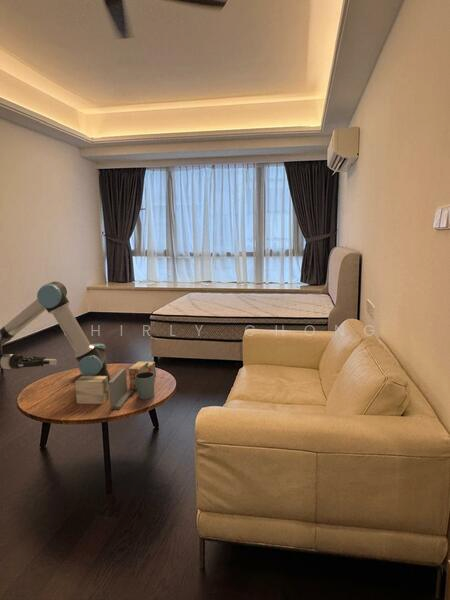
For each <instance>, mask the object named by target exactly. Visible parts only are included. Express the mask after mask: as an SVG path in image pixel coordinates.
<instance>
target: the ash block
mask: <svg viewBox="0 0 450 600" xmlns="http://www.w3.org/2000/svg"><path fill="white" fill-rule="evenodd" d="M74 384H75V395H76V396H75V397H76V404H86V405H88V404H93V405H94V404H95V405H96V404H97V405H103V404H105V403H106V402H107V400H108V399H110V396H109V383H108V376H85V375H81V376H79V378H77V379H76V380H75V381H74Z"/></svg>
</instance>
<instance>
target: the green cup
mask: <svg viewBox="0 0 450 600" xmlns="http://www.w3.org/2000/svg"><path fill="white" fill-rule="evenodd" d="M155 377H156V376H155V374H154V373H153V372H141V373H138V374H136V375H135V380H136V385H137V389H136V390H137V396H138V398H139V399H140V400H149V399H152V398H154V397H155Z"/></svg>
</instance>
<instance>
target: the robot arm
mask: <svg viewBox="0 0 450 600" xmlns="http://www.w3.org/2000/svg"><path fill="white" fill-rule="evenodd" d="M67 293H68V291H67V288H66V285H64V284H63V283H62V282H60V281H51V282H48V283H45V284H44V285H42V286H41V287H40V288H39V289H38V290H37V295H36V299H35V300H34V301H33V302H31V303H30V304H29V305H28V306H27V307H25V309H23V310H22V311H21V312H19V314H17V315H16V316H15V317H14V318H12V319H11V320H10V321H9V322H7V323H6V324H5V325H4V326H3V327H1V328H0V369H2V370H3V369H4V370H5V369H7V370H10V369H13V370H14V369H15V370H19V369H22V368H33V367H42V368H43V367H44V366H57V365H58V359H57V358H46V356H43V357H42V356H36V355H31V357H28V356H25V357H24V356H23V355H22V354H19V353H16V354H15V353H14V354H13V353H12V354H11V353H8V354H7V353H3V345H5V344H6V343H8V342H10V341H11V340H12V338H14V337H15V336H16V335H17V334H19V333H20V332H21V331H22V330H23V329H25V328H26V327H27V326H28V325H30V324H31V323H32V322H33V321H34V320H36V319H37V318H38V317H39V316H41V315H42V313H44V312H45V311H46V312H47V313H48V314H52V315H53V317H54V319H55V320H56V322H57V324H58V325H59V326H60V329H61V330H62V331H63V333H64V336H65V337H66V338H67V340H68V342H69V344H70V345H71V347H72V349H73V350H74V352H75V354H74V359H75V360H76V361H77V363H78V369H79V372H80V371H81V373H83V374H84V375H83V374H82V375H83V376H108V384H109V381H110V380H111V379H112V377H111V375H110V373H109V370H108V367H107V364H108V363H107V353H106V350H107V349H106V345H105V344H104V343H90V341H89V339H88V337H87V336H86V334H85V332H84V330H83V329H82V327H81V326H80V324H79V322H78V320H77V318H76V317H75V315H74V314H73V312H72V310H71V308H70V307H69V304H70V300H68V299H69V298H68V297H67V295H68V294H67ZM81 373H80V374H81Z"/></svg>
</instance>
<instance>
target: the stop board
mask: <svg viewBox="0 0 450 600" xmlns="http://www.w3.org/2000/svg"><path fill="white" fill-rule="evenodd" d="M127 383H128V380H127V368H126V367H125V368H121V369H120V370H119V371H118V372H117V373H116V374H115V375H114V376H113V377H111V380H110V381H109V383H108V389H109V406H110V407H109V409H110V410H121V409H122V408H123V407H124V405H125V404H126V402H127V401H128V400H129V399H130V398H131V396H132V395H133V393H134V391H133V390H134V389H132V390H131V389H130V390H129V389H128V384H127Z"/></svg>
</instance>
